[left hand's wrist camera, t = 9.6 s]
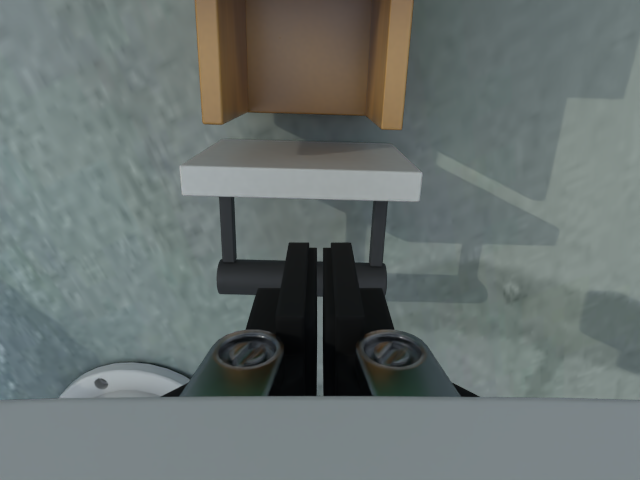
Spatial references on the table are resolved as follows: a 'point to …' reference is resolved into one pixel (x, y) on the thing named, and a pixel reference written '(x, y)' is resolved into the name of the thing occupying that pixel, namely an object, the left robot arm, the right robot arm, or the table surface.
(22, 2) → the table surface
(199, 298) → the table surface
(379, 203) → the drawer
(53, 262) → the table surface
